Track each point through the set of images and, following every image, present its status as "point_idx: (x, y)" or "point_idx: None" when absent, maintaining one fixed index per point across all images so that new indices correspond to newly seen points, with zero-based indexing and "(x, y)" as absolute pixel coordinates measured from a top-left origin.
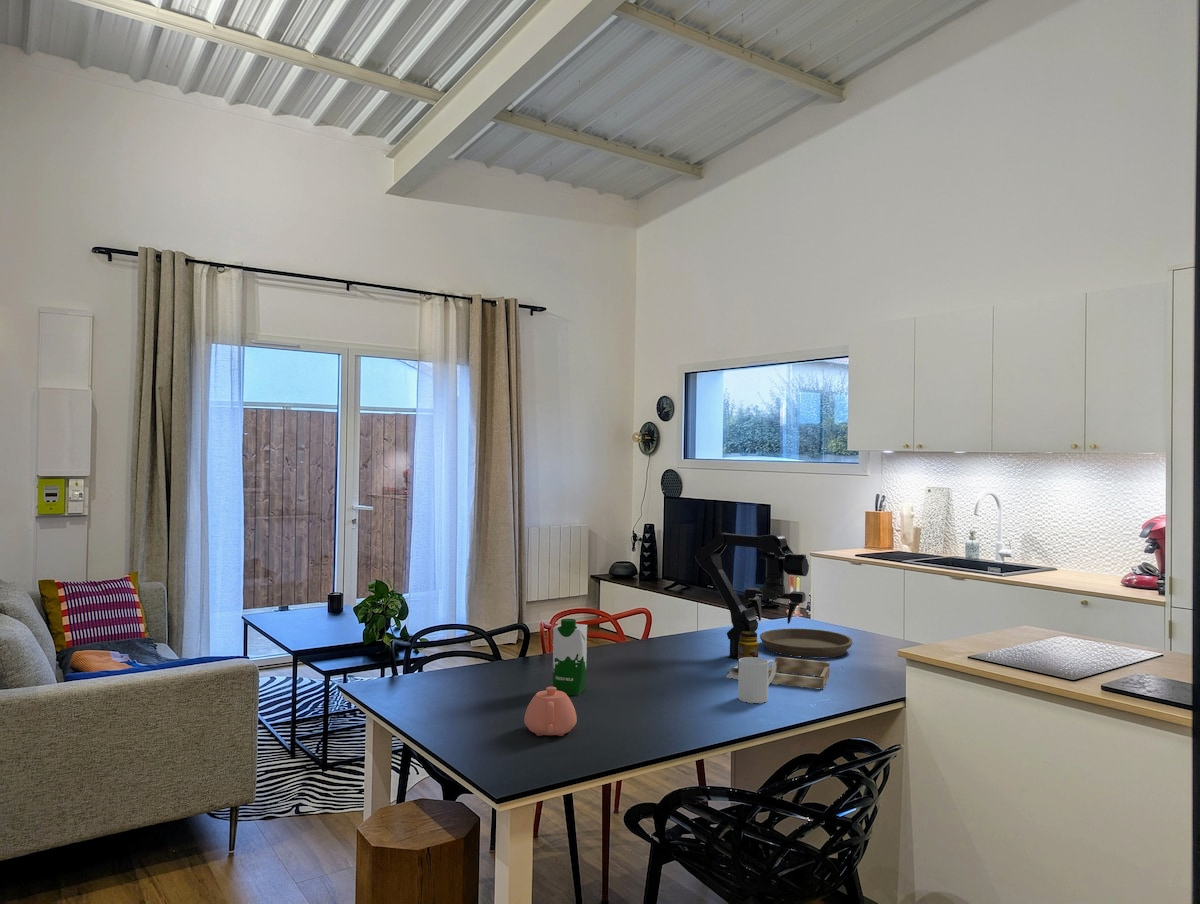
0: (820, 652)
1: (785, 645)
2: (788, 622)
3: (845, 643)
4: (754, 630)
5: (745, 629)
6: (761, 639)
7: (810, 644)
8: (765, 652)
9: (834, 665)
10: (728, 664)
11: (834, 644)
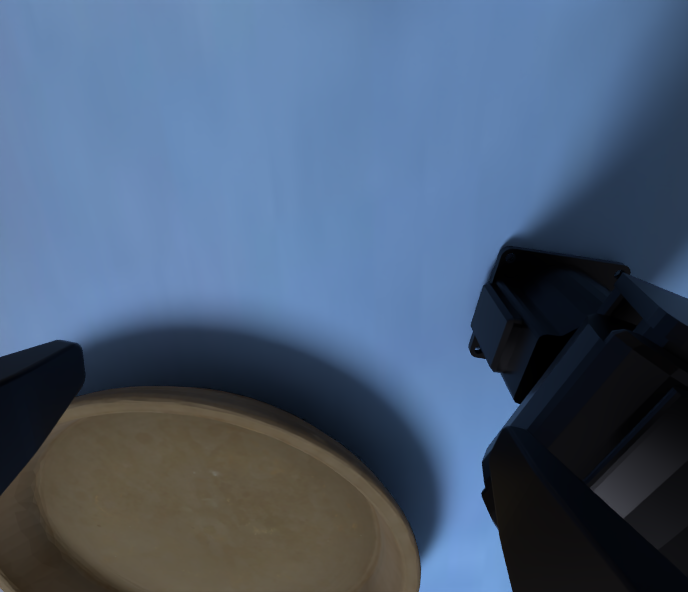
0: (86, 394)
1: (270, 422)
2: (50, 344)
3: (39, 560)
4: (510, 421)
5: (661, 313)
6: (412, 532)
7: (199, 565)
8: (388, 436)
9: (7, 269)
10: (664, 74)
11: (107, 574)
